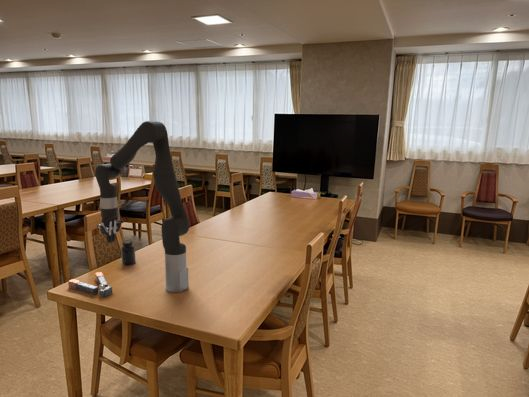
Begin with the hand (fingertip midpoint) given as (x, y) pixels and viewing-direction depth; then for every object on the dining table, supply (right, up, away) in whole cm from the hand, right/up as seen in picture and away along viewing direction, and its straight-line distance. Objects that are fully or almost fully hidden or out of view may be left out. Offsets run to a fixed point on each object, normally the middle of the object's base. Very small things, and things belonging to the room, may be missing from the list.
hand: (111, 241), depth 177 cm
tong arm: (-1, -19, -7) cm, 20 cm away
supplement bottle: (+1, -14, +20) cm, 24 cm away
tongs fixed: (-4, -20, -14) cm, 24 cm away
